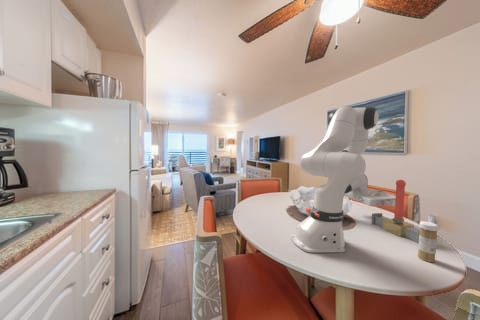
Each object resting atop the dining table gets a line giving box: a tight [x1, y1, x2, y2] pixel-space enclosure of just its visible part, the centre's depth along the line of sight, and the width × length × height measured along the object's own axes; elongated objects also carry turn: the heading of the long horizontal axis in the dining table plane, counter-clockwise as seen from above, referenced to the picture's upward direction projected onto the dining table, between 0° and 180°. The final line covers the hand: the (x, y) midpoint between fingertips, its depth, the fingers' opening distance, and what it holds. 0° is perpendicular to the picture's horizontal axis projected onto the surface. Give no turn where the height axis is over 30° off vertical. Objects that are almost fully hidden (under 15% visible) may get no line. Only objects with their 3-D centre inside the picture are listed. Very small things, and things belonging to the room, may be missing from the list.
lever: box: [392, 179, 407, 222], centre depth 85 cm, size 4×4×21 cm
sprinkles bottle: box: [417, 220, 439, 263], centre depth 65 cm, size 5×5×14 cm
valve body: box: [371, 212, 420, 245], centre depth 86 cm, size 8×22×5 cm, turn 13°
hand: (397, 204), depth 86 cm, fingers closed
